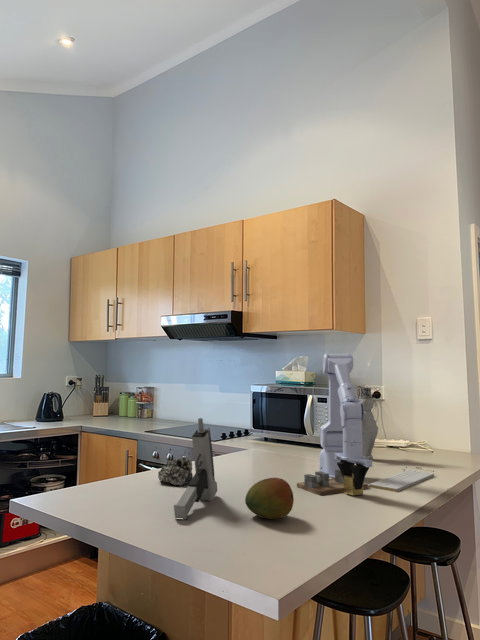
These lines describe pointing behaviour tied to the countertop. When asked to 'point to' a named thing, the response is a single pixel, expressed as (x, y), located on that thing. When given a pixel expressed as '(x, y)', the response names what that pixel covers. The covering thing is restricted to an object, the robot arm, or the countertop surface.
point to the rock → (177, 471)
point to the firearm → (199, 473)
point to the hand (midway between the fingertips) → (353, 487)
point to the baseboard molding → (401, 480)
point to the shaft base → (327, 489)
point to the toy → (368, 423)
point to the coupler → (351, 486)
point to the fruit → (270, 498)
